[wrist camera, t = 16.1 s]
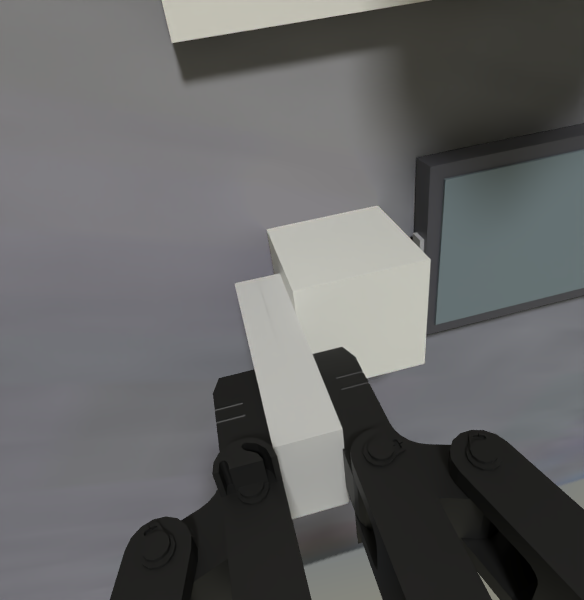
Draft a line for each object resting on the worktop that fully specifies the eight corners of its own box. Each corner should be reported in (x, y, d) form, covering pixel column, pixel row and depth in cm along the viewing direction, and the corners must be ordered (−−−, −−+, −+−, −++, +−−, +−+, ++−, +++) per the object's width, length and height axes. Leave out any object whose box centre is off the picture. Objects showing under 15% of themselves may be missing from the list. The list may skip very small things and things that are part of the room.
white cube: (282, 321, 18) (307, 393, 15) (266, 229, 16) (292, 291, 13) (393, 294, 19) (441, 359, 15) (394, 201, 16) (450, 254, 13)
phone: (408, 322, 19) (419, 338, 19) (412, 158, 15) (427, 168, 15) (641, 264, 21) (663, 276, 20) (701, 99, 17) (732, 105, 16)
